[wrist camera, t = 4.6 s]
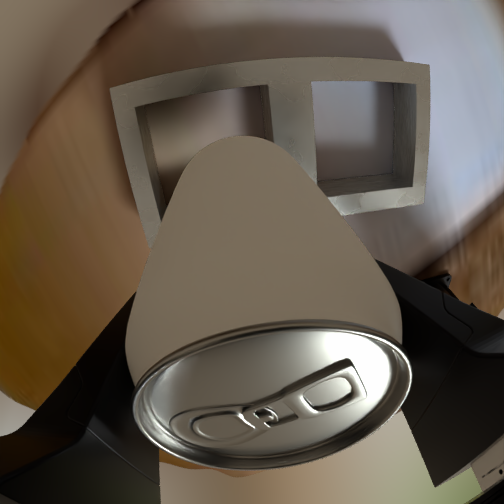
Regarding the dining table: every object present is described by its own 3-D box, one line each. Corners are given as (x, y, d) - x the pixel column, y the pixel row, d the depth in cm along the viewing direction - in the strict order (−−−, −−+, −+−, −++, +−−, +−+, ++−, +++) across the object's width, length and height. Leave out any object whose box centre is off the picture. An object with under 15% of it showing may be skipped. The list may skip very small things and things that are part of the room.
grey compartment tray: (405, 63, 18) (429, 64, 16) (403, 189, 24) (423, 203, 21) (122, 86, 17) (109, 88, 14) (154, 227, 23) (149, 248, 20)
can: (152, 176, 15) (41, 382, 4) (270, 110, 14) (412, 212, 3) (219, 271, 18) (224, 487, 8) (323, 219, 17) (435, 415, 6)
